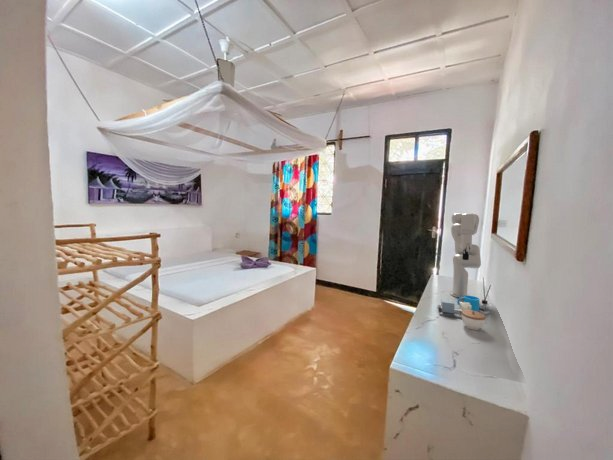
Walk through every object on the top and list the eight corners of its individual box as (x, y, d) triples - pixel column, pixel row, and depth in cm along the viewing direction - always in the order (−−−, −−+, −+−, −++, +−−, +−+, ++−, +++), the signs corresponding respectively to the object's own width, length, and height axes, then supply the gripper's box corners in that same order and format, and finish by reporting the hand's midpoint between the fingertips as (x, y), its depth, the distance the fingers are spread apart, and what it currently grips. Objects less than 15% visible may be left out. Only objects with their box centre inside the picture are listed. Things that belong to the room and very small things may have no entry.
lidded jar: (488, 333, 127) (489, 315, 126) (465, 330, 129) (467, 314, 128) (478, 323, 137) (479, 307, 137) (457, 322, 140) (458, 306, 139)
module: (440, 307, 157) (441, 298, 157) (452, 309, 155) (452, 300, 154) (442, 311, 151) (442, 302, 151) (454, 313, 148) (454, 304, 148)
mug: (478, 309, 158) (479, 297, 158) (478, 313, 152) (479, 301, 151) (457, 305, 165) (457, 293, 165) (456, 309, 159) (457, 296, 158)
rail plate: (437, 307, 161) (437, 296, 161) (469, 311, 154) (469, 300, 154) (439, 315, 148) (440, 304, 148) (474, 320, 141) (475, 308, 141)
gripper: (458, 231, 167) (456, 257, 169) (462, 233, 154) (460, 261, 155) (471, 231, 164) (469, 258, 166) (476, 233, 151) (474, 262, 152)
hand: (465, 259), depth 161 cm, fingers closed
